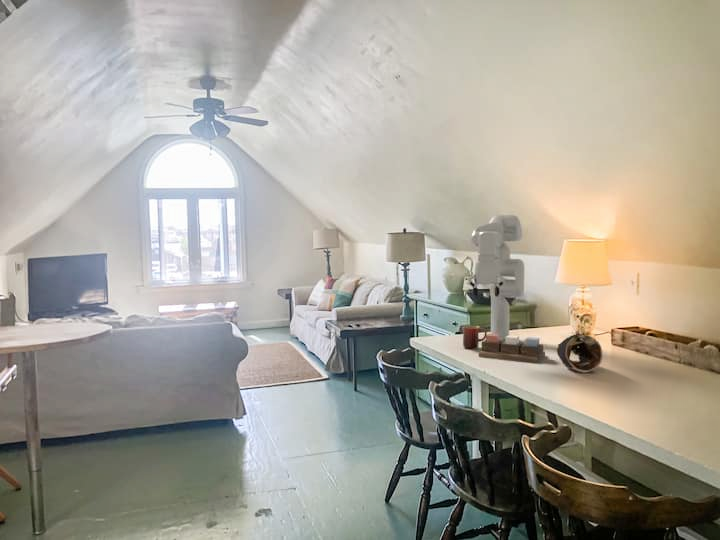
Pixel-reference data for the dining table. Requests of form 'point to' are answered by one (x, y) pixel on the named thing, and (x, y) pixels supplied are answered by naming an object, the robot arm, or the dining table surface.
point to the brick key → (493, 338)
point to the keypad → (512, 351)
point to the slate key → (532, 342)
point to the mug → (472, 336)
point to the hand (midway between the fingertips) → (486, 296)
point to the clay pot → (580, 352)
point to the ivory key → (512, 340)
